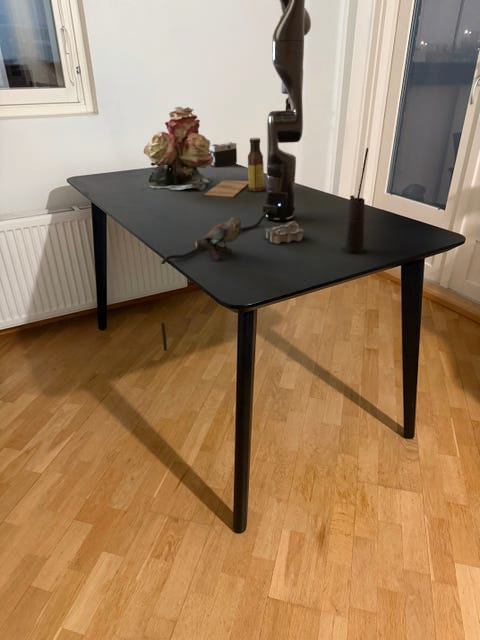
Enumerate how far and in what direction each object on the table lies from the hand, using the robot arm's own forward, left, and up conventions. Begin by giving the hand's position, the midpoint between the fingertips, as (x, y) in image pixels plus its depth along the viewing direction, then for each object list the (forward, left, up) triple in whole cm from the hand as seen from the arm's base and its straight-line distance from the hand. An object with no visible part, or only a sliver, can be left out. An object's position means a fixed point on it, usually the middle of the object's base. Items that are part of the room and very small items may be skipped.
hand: (290, 127), depth 174 cm
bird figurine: (-71, +6, -24) cm, 76 cm away
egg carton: (-53, -10, -24) cm, 59 cm away
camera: (+43, +43, -24) cm, 65 cm away
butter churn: (-56, -30, -24) cm, 68 cm away
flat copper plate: (-2, +24, -24) cm, 34 cm away
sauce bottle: (-1, +13, -24) cm, 28 cm away
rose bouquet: (+1, +45, -24) cm, 51 cm away
